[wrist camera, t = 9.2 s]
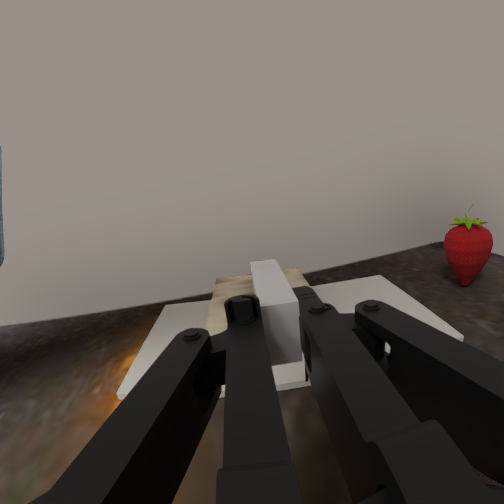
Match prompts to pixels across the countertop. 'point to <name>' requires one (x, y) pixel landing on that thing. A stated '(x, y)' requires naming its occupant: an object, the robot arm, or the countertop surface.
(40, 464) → the countertop surface
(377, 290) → the mat
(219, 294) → the board
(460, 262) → the strawberry
